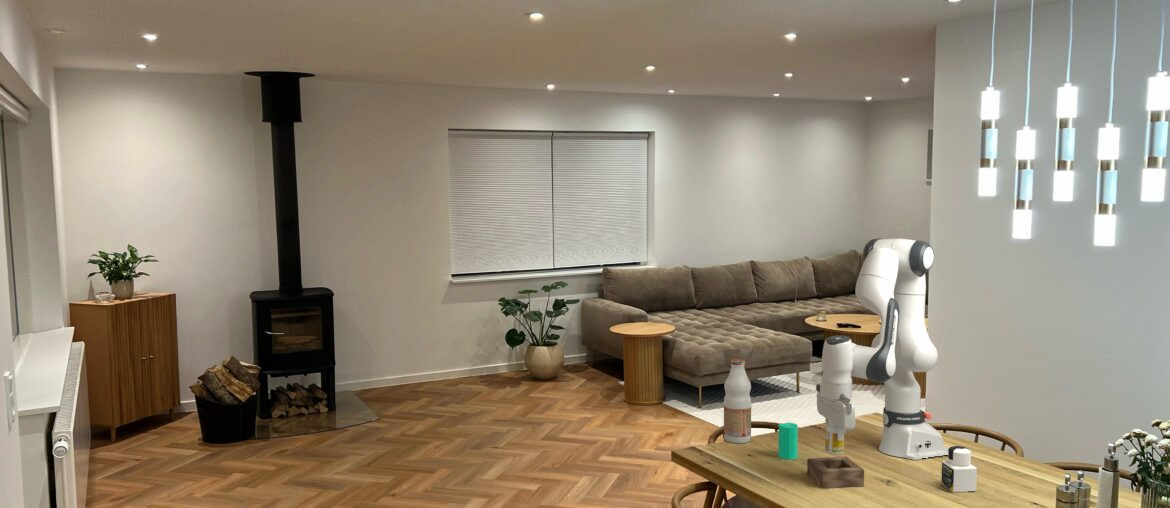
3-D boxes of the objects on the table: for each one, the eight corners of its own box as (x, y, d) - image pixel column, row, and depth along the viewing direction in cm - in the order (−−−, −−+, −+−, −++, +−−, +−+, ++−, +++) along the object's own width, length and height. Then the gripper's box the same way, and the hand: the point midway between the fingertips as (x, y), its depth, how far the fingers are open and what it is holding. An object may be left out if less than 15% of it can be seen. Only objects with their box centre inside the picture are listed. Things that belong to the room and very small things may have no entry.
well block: (846, 472, 267) (846, 456, 267) (863, 486, 255) (864, 469, 254) (807, 474, 265) (807, 458, 265) (822, 488, 253) (823, 471, 253)
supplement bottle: (847, 451, 259) (848, 419, 259) (838, 455, 255) (839, 423, 255) (830, 447, 263) (831, 416, 262) (821, 451, 259) (822, 419, 258)
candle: (795, 453, 286) (796, 418, 285) (798, 459, 280) (798, 423, 279) (777, 453, 286) (777, 417, 285) (779, 459, 280) (780, 422, 279)
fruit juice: (729, 444, 296) (729, 364, 294) (719, 437, 305) (720, 358, 303) (755, 443, 298) (756, 362, 296) (744, 435, 307) (745, 357, 305)
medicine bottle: (940, 484, 256) (942, 444, 255) (964, 483, 257) (965, 443, 256) (952, 492, 249) (953, 451, 248) (976, 491, 250) (978, 451, 249)
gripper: (861, 399, 248) (860, 446, 249) (833, 383, 268) (831, 427, 269) (840, 399, 247) (839, 447, 248) (813, 383, 267) (812, 427, 268)
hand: (835, 436), depth 259 cm, fingers closed on supplement bottle, 5 cm apart
